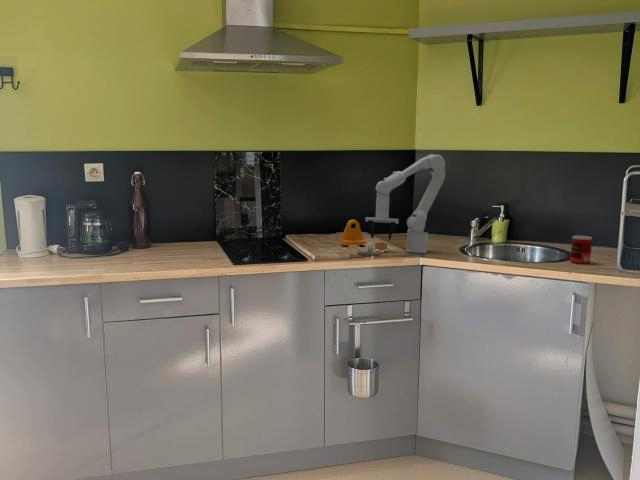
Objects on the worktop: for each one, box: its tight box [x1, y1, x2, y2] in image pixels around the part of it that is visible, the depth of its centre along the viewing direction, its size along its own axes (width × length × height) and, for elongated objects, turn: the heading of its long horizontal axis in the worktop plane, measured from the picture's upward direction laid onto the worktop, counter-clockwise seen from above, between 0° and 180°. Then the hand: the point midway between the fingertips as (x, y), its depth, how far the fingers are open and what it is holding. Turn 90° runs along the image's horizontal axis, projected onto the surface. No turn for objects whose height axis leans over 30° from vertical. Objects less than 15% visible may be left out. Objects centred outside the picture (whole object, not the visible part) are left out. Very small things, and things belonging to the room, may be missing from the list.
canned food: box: [569, 235, 593, 265], centre depth 257 cm, size 8×8×11 cm
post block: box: [357, 241, 381, 257], centre depth 267 cm, size 9×9×5 cm
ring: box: [374, 241, 388, 250], centre depth 275 cm, size 5×5×4 cm
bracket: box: [340, 219, 366, 246], centre depth 287 cm, size 11×7×12 cm, turn 95°
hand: (381, 238), depth 274 cm, fingers open, 7 cm apart
